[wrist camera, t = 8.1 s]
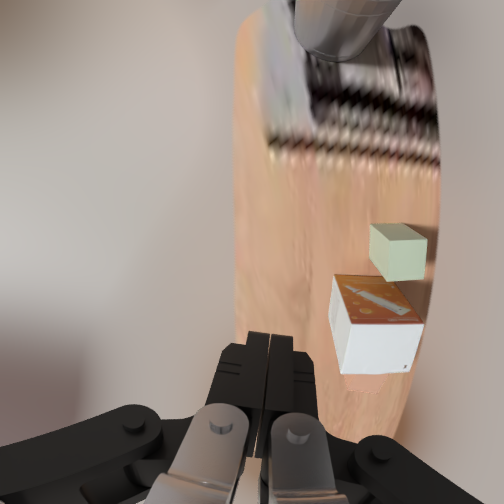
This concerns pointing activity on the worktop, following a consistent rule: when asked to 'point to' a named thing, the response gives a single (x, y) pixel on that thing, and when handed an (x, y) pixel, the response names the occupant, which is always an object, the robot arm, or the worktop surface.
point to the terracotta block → (365, 382)
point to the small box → (372, 326)
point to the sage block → (397, 251)
